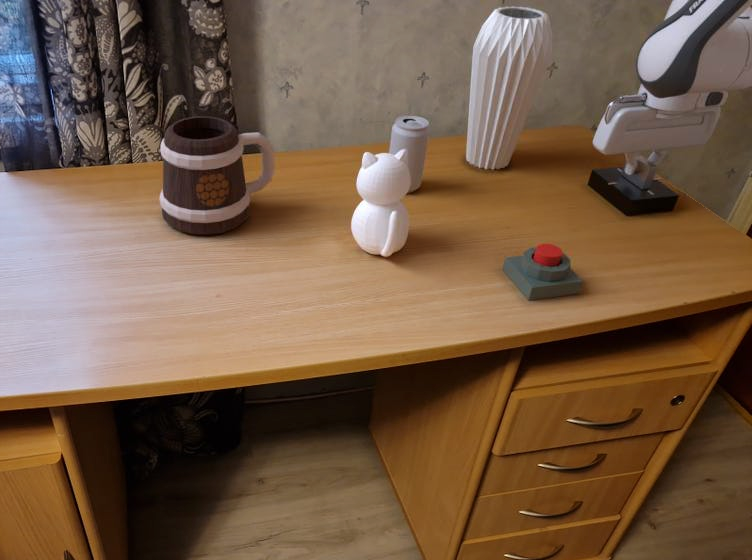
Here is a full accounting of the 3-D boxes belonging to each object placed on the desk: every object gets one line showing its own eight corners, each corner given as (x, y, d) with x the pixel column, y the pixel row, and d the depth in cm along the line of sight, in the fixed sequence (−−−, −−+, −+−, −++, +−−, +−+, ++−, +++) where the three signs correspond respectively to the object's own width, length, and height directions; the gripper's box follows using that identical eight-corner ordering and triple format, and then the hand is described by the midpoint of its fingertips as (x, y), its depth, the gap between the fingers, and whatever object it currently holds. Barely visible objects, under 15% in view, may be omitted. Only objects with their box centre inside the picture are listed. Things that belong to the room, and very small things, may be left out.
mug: (176, 245, 107) (167, 155, 97) (150, 203, 117) (140, 117, 107) (291, 222, 113) (294, 134, 103) (257, 183, 123) (257, 100, 113)
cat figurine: (392, 224, 112) (405, 136, 103) (421, 265, 103) (437, 172, 93) (340, 230, 111) (348, 141, 101) (364, 271, 102) (375, 178, 92)
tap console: (675, 210, 117) (683, 194, 115) (623, 216, 115) (629, 199, 113) (633, 180, 126) (639, 163, 123) (584, 184, 124) (589, 168, 122)
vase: (437, 158, 132) (463, 10, 115) (481, 141, 138) (512, -2, 121) (493, 182, 124) (529, 28, 107) (536, 163, 130) (578, 14, 113)
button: (564, 265, 97) (567, 255, 95) (541, 268, 96) (544, 258, 95) (551, 252, 99) (554, 242, 98) (528, 255, 99) (531, 244, 97)
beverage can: (407, 175, 126) (416, 111, 118) (427, 190, 122) (438, 124, 114) (378, 182, 124) (385, 117, 116) (397, 197, 120) (407, 131, 112)
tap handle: (649, 188, 116) (659, 165, 113) (641, 189, 116) (650, 166, 113) (628, 173, 121) (636, 150, 118) (620, 174, 120) (628, 151, 118)
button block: (578, 293, 98) (587, 270, 95) (528, 300, 96) (535, 276, 94) (550, 264, 104) (557, 241, 101) (502, 270, 102) (508, 247, 100)
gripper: (624, 103, 104) (595, 186, 113) (737, 93, 108) (701, 175, 117) (600, 89, 109) (574, 170, 118) (710, 80, 112) (676, 159, 121)
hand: (638, 172), depth 117 cm, fingers closed on tap handle, 2 cm apart
